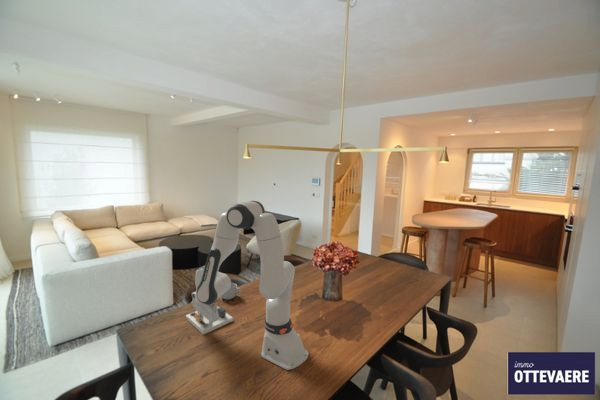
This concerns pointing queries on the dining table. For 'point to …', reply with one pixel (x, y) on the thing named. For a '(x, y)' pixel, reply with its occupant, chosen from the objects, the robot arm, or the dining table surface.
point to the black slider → (221, 312)
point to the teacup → (231, 292)
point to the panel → (203, 324)
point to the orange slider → (197, 317)
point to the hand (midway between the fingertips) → (205, 322)
